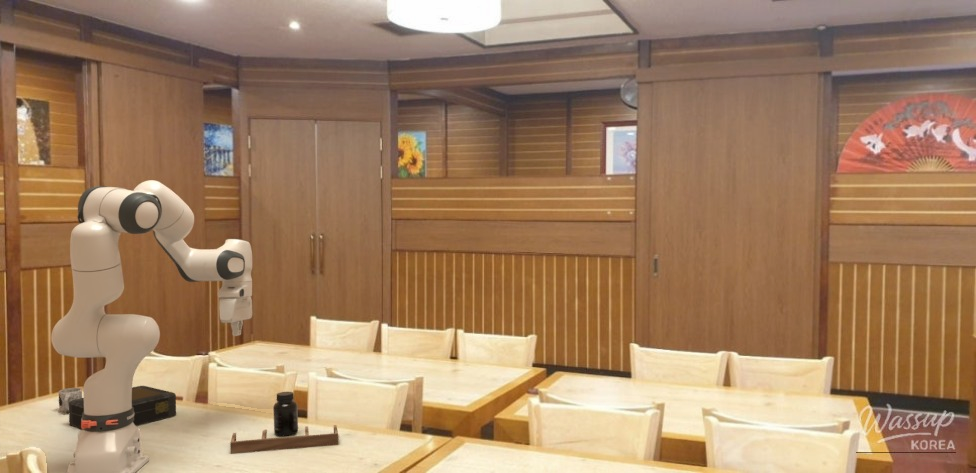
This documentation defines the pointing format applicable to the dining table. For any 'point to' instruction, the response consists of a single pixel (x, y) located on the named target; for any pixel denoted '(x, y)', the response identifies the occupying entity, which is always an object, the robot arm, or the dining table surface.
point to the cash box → (136, 406)
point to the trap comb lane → (283, 442)
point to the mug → (68, 398)
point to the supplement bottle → (285, 415)
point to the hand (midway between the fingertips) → (236, 335)
